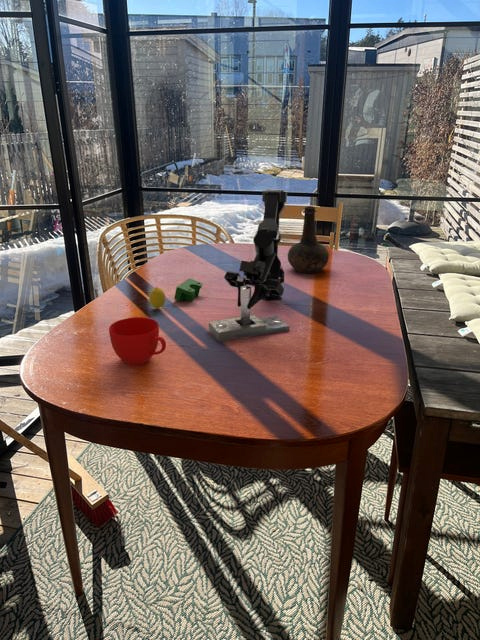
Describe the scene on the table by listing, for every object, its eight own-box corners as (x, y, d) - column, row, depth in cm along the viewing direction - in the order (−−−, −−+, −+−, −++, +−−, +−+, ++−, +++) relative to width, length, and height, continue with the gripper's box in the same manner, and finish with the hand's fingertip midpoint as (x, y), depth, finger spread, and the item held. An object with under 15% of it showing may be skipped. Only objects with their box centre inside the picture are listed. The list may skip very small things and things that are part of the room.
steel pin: (248, 323, 149) (248, 285, 144) (252, 327, 146) (252, 288, 141) (238, 324, 147) (238, 286, 143) (242, 328, 145) (243, 289, 140)
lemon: (169, 307, 166) (167, 286, 163) (160, 312, 161) (158, 290, 158) (155, 305, 168) (154, 283, 165) (146, 310, 164) (145, 288, 161)
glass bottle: (333, 268, 213) (338, 205, 203) (317, 278, 200) (322, 211, 189) (297, 263, 222) (301, 202, 212) (280, 272, 208) (282, 207, 198)
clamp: (189, 312, 174) (189, 295, 167) (174, 307, 175) (174, 289, 168) (203, 292, 182) (203, 274, 175) (189, 286, 183) (189, 269, 176)
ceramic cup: (149, 380, 118) (146, 343, 115) (102, 363, 127) (98, 329, 123) (182, 360, 129) (180, 326, 125) (136, 346, 137) (133, 313, 133)
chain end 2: (276, 320, 156) (276, 315, 155) (289, 330, 148) (289, 325, 147) (225, 328, 149) (225, 323, 149) (235, 339, 142) (235, 333, 141)
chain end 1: (254, 323, 153) (254, 314, 152) (266, 334, 145) (266, 324, 144) (208, 330, 147) (208, 321, 146) (218, 341, 140) (218, 331, 139)
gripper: (227, 245, 145) (206, 289, 141) (281, 253, 136) (261, 300, 132) (240, 264, 155) (221, 306, 150) (291, 273, 146) (273, 318, 141)
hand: (243, 307), depth 143 cm, fingers closed on steel pin, 3 cm apart
